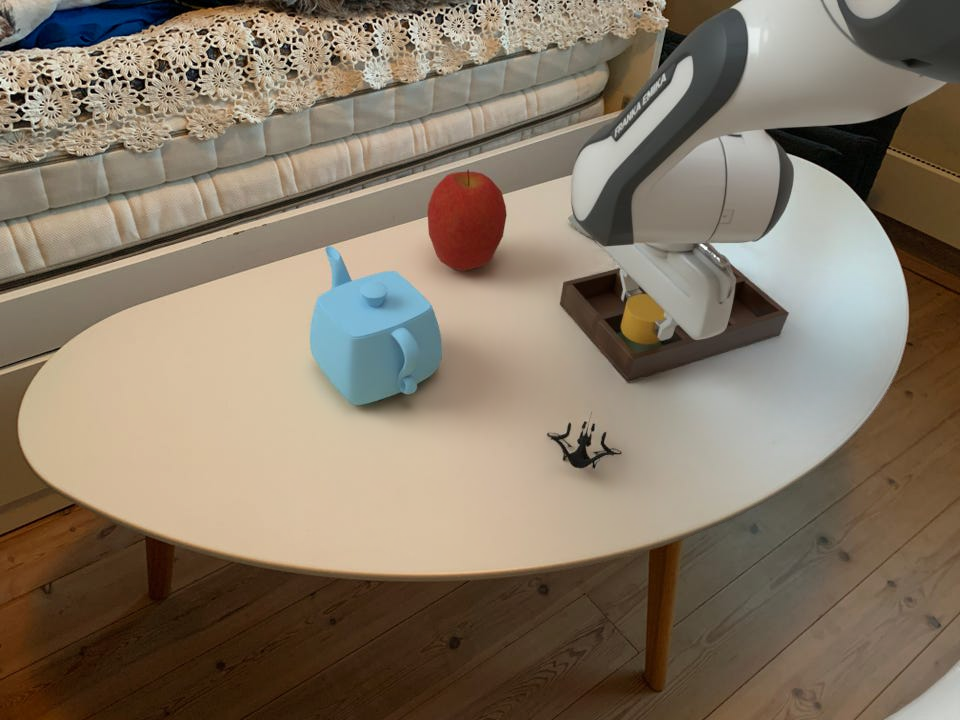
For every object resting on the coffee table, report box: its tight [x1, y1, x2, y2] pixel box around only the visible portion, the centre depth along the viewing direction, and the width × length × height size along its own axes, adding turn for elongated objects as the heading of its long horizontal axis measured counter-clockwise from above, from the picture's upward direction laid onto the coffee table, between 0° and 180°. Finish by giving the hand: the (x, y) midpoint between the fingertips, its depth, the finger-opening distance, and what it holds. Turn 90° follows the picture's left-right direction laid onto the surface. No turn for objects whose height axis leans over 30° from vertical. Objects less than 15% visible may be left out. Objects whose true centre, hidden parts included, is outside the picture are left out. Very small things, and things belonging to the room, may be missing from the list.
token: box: [621, 294, 666, 344], centre depth 89 cm, size 5×5×3 cm
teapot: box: [309, 245, 443, 406], centre depth 84 cm, size 12×18×12 cm
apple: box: [427, 168, 508, 272], centre depth 99 cm, size 10×10×14 cm
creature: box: [546, 411, 622, 470], centre depth 78 cm, size 8×5×8 cm
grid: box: [559, 263, 790, 383], centre depth 96 cm, size 15×23×4 cm
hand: (645, 318), depth 89 cm, fingers closed on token, 5 cm apart
